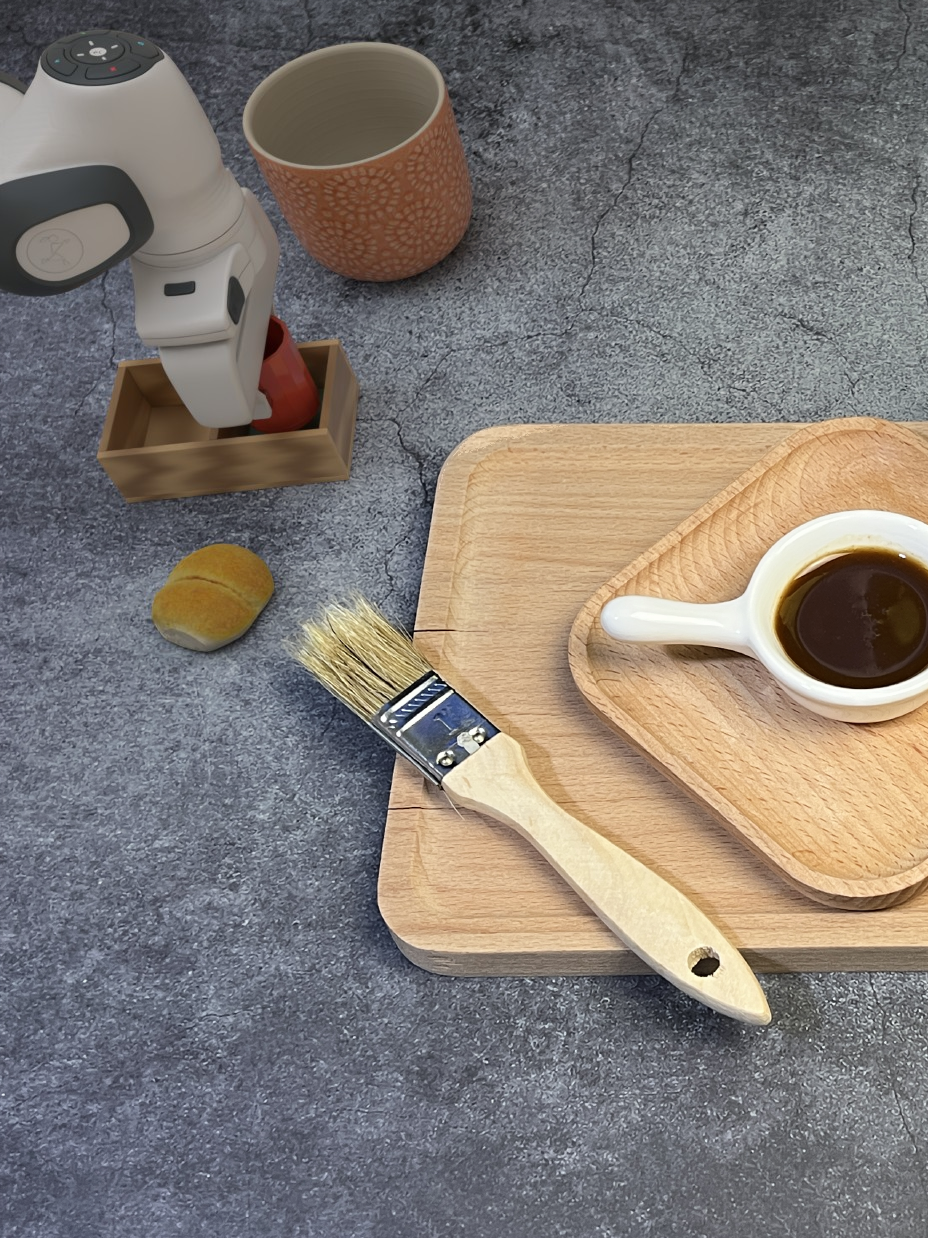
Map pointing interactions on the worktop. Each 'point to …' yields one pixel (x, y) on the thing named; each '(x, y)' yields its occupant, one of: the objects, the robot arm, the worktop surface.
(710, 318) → the worktop surface
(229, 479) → the caddy
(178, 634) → the bread roll
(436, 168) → the planter
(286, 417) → the cup
